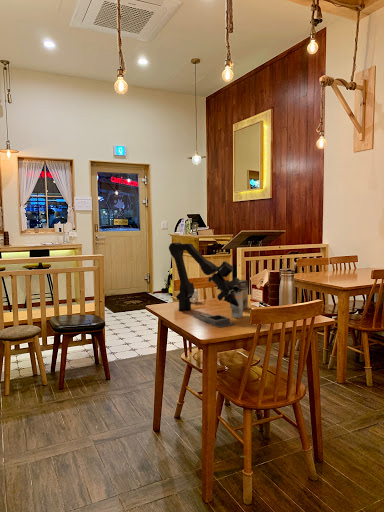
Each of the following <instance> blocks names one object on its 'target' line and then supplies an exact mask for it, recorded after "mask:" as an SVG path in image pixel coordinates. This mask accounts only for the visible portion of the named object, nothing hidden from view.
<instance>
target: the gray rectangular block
mask: <svg viewBox="0 0 384 512" xmlns="http://www.w3.org/2000/svg"><path fill="white" fill-rule="evenodd" d="M233 297H234V299H235V300H236V302H237V303H238V306H235V305H233V304H232V308H231V318H234V319H241V318H243V316H244V312H243V311H244V308H243V292H233Z"/></svg>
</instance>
